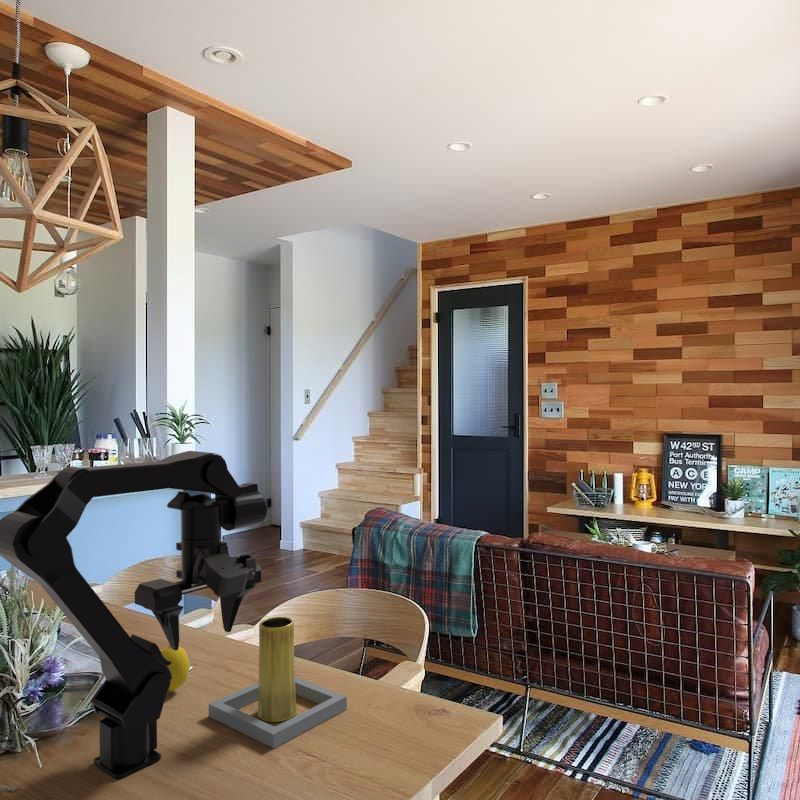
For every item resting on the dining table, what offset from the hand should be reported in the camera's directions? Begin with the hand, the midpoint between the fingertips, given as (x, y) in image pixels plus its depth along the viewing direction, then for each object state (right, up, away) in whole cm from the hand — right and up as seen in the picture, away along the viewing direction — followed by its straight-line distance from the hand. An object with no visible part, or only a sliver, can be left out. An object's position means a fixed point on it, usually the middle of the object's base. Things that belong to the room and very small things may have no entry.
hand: (202, 640), depth 102 cm
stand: (+10, -13, +5) cm, 17 cm away
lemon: (-9, -13, +12) cm, 20 cm away
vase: (+10, -13, +4) cm, 17 cm away
